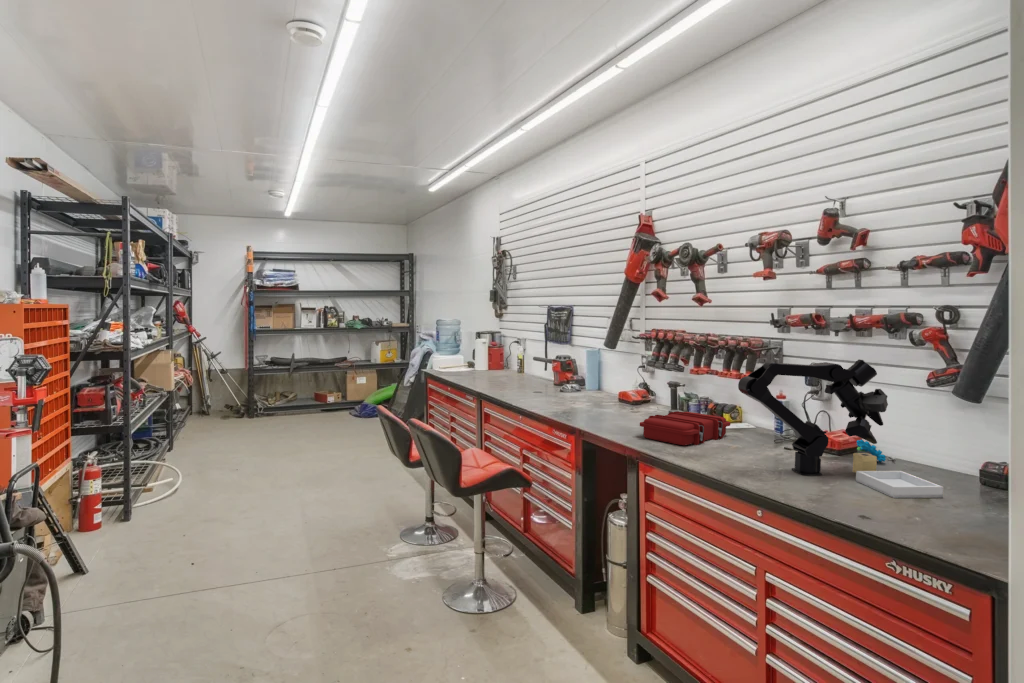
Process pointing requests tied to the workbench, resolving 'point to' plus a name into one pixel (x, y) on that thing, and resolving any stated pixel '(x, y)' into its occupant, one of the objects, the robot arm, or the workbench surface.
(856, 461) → the brass block
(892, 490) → the parts tray
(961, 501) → the workbench surface
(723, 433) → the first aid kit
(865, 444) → the blue plastic figure
